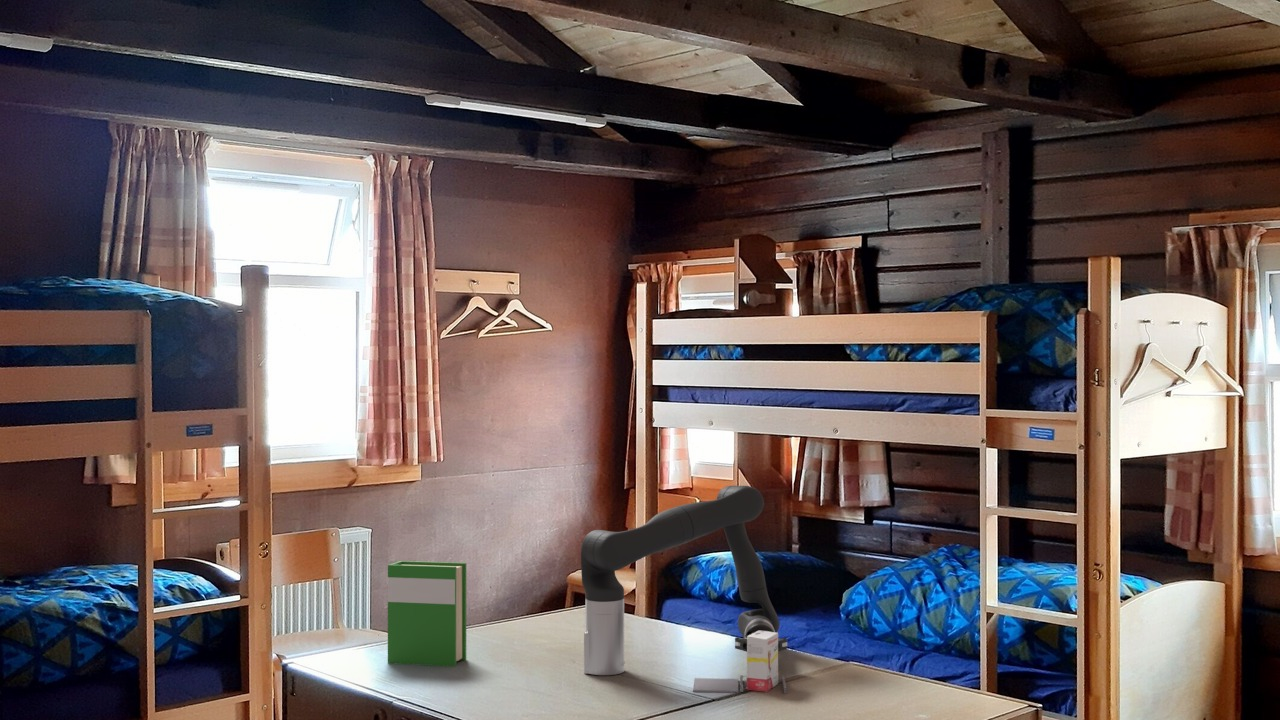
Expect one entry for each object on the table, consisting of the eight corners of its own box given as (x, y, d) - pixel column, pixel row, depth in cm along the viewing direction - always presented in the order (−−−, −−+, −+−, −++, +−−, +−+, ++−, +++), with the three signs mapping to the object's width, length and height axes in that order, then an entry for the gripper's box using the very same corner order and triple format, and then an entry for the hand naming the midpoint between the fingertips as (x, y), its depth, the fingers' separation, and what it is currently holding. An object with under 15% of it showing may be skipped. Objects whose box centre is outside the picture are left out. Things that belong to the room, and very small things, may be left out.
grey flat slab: (693, 691, 263) (693, 686, 263) (694, 679, 274) (694, 674, 274) (786, 693, 262) (786, 687, 262) (784, 681, 273) (784, 675, 273)
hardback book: (466, 659, 296) (466, 562, 297) (455, 666, 289) (455, 567, 289) (400, 656, 300) (400, 560, 301) (387, 663, 293) (387, 565, 294)
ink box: (767, 692, 263) (766, 638, 263) (745, 690, 265) (745, 636, 265) (779, 683, 270) (779, 631, 271) (758, 681, 273) (758, 629, 273)
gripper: (732, 620, 292) (733, 634, 275) (787, 621, 291) (790, 635, 274) (733, 651, 292) (733, 667, 275) (787, 651, 291) (791, 668, 274)
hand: (762, 651), depth 274 cm, fingers closed
